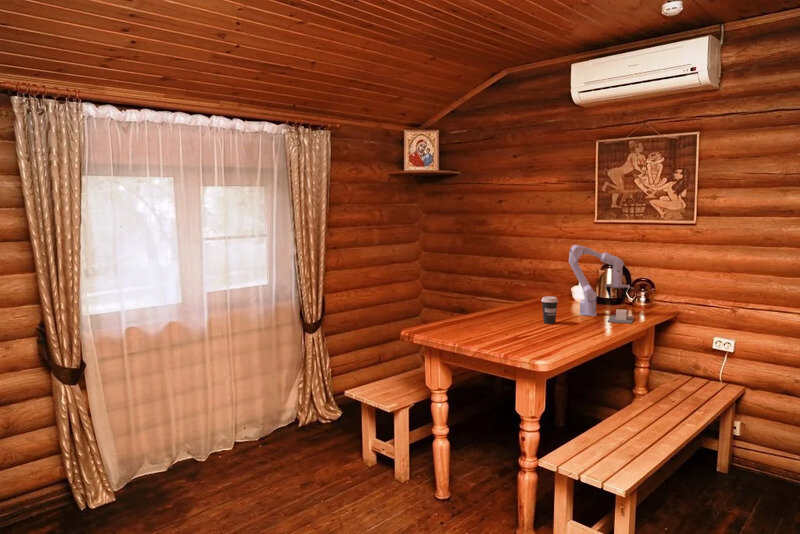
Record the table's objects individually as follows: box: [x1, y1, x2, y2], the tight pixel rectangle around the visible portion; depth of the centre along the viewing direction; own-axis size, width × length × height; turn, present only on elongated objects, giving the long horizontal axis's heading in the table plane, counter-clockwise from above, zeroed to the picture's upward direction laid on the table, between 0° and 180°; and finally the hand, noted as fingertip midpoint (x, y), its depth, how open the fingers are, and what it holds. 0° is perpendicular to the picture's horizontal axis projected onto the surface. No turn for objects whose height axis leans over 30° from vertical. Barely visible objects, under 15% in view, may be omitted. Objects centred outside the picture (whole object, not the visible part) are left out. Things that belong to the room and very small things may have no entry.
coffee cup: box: [540, 295, 559, 325], centre depth 331 cm, size 10×10×15 cm
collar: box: [615, 308, 628, 320], centre depth 336 cm, size 6×6×5 cm
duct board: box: [607, 314, 635, 325], centre depth 336 cm, size 13×18×4 cm
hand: (616, 299), depth 350 cm, fingers open, 7 cm apart
